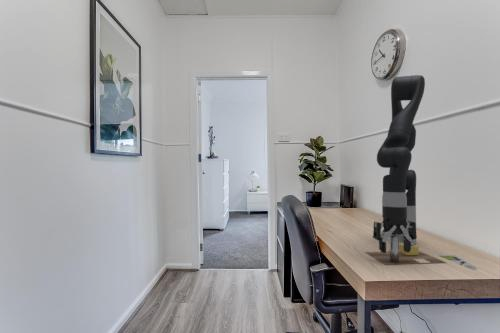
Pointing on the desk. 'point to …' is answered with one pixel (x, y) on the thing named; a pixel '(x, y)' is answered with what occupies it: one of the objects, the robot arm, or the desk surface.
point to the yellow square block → (412, 252)
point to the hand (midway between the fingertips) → (394, 252)
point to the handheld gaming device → (457, 260)
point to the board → (404, 258)
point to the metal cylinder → (394, 248)
